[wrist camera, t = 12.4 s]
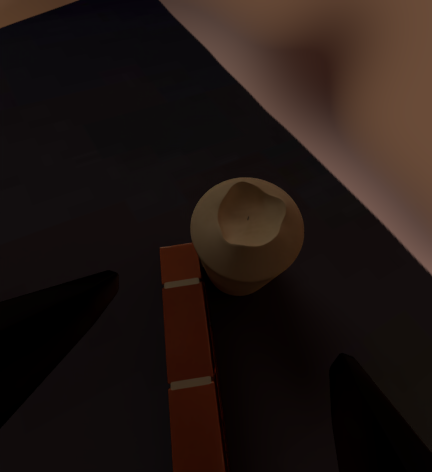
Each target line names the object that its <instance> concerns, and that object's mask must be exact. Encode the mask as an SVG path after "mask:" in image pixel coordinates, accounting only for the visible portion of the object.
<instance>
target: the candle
mask: <svg viewBox="0 0 432 472" xmlns="http://www.w3.org/2000/svg"><path fill="white" fill-rule="evenodd" d="M191 238H192V242H193V245H194V247H195V250H196V252H197V254H198V256H199V258H200V261H201V263H202V265H203V267H204V269H205V271H206V273H207V275H208V277H209V279H210V281H211V282H212V283H213V284H214V286H215V287H216V288H218V289H219V290H220V291H222V292H224V293H226V294H229V295H233V296H245V295H249V294H251V293H254V292H255V291H257V290H259V289H260V288H261V287H263V286H264V285H266V284H267V283H268V282H270V281H271V280H272V279H274V278H275V277H277V276H278V275H279V274H281V273H282V272H283V271H284V270H286V269H287V268H288V267H289V266H290V265H291V264H292V263H293V262H294V260H295V259H296V257H297V256H298V254H299V252H300V250H301V247H302V244H303V239H304V224H303V219H302V216H301V213H300V211H299V209H298V207H297V205H296V204H295V202H294V201H293V200H292V198H291V197H290V196H289V195H288V194H287V193H286V192H285V191H283V190H282V189H281V188H279V187H277V186H276V185H274V184H272V183H270V182H267V181H264V180H261V179H256V178H235V179H231V180H227V181H224V182H222V183H220V184H218V185H216V186H214V187H213V188H211V189H210V190H209V191H208V192H206V193H205V194H204V195H203V197H202V198H201V199H200V200H199V202H198V203H197V205H196V207H195V209H194V212H193V215H192V219H191Z"/></svg>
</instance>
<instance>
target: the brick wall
mask: <svg viewBox="0 0 432 472" xmlns="http://www.w3.org/2000/svg"><path fill="white" fill-rule="evenodd" d="M160 262H161V279H162V285H164V288H162V297H163V313H164V330H165V347H166V364H167V381H168V384H170V388H169V389H168V397H169V414H170V430H171V447H172V464H173V472H231V466H230V458H229V451H228V443H227V436H226V428H225V420H224V413H223V409H222V397H221V390H220V382H219V375H218V367H217V359H216V352H215V344H214V336H213V329H212V325H210V322H211V314H210V306H209V298H208V291H207V283H206V275H205V269H204V267H203V265H202V263H201V261H200V258H199V256H198V254H197V252H196V250H195V247H194V245H193V243H186V244H180V245H173V246H167V247H161V248H160Z"/></svg>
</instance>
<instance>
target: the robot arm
mask: <svg viewBox="0 0 432 472" xmlns="http://www.w3.org/2000/svg"><path fill="white" fill-rule="evenodd" d="M118 289H119V275H118V273H116V272H113V271H110V270H107V271H104V272H100V273H97V274H94V275H90V276H87V277H83V278H80V279H77V280H73V281H70V282H66V283H63V284H60V285H56V286H53V287H50V288H46V289H43V290H39V291H36V292H33V293H29V294H26V295H22V296H19V297H16V298H12V299H9V300H5V301H2V302H0V428H1V427H2V426H3V425H4V424H5V423H6V422H7V420H8V419H9V418H10V417H11V416H12V415H13V414H14V413H15V412H16V410H17V409H18V408H19V407H20V406H21V405H22V404H23V403H24V402H25V400H26V399H27V398H28V397H29V396H30V395H31V394H32V393H33V392H34V390H35V389H36V388H37V387H38V386H39V385H40V384H41V383H42V382H43V380H44V379H45V378H46V377H47V376H48V375H49V374H50V373H51V372H52V370H53V369H54V368H55V367H56V366H57V365H58V364H59V363H60V362H61V360H62V359H63V358H64V357H65V356H66V355H67V354H68V353H69V352H70V350H71V349H72V348H73V347H74V346H75V345H76V344H77V343H78V341H79V340H80V339H81V338H82V337H83V336H84V335H85V334H86V333H87V331H88V330H89V329H90V328H91V327H92V326H93V325H94V323H95V322H96V321H97V320H98V318H99V317H100V315H101V314H102V313H103V311H104V310H105V309H106V307H107V306H108V305H109V303H110V302H111V301H112V299H113V298H114V297H115V295H116V294H117V292H118ZM329 378H330V398H331V416H332V426H333V433H334V440H335V446H336V453H337V460H338V466H339V472H432V453H431V451H430V450H429V449H428V448H427V446H426V445H425V444H424V443H423V442H422V440H421V439H420V438H419V437H418V435H417V434H416V433H415V432H414V430H413V429H412V428H411V427H410V426H409V424H408V423H407V422H406V421H405V419H404V418H403V417H402V416H401V414H400V413H399V412H398V411H397V410H396V408H395V407H394V406H393V405H392V403H391V402H390V401H389V400H388V398H387V397H386V396H385V395H384V394H383V392H382V391H381V390H380V389H379V387H378V386H377V385H376V384H375V382H374V381H373V380H372V379H371V378H370V376H369V375H368V374H367V373H366V371H365V370H364V369H363V368H362V366H361V365H360V364H359V363H358V361H357V360H356V359H355V358H354V357H352V356H349V355H347V354H344V353H341V354H339V355H338V357H337V358H336V359H335V361H334V362H333V364H332V365H331V367H330V370H329Z"/></svg>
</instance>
